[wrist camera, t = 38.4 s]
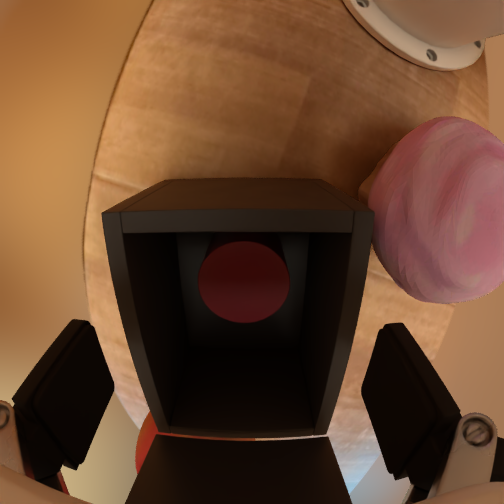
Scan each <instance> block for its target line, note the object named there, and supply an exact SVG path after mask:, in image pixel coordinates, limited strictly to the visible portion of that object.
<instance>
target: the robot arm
mask: <svg viewBox="0 0 504 504" xmlns="http://www.w3.org/2000/svg"><path fill="white" fill-rule="evenodd" d="M343 2H344V4H345V5H346V7H347V8H348V9H349V11H350V12H351V13H352V15H353V16H354V17H355V19H356V20H357V21H358V22H359V23H360V24H361V25H362V26H363V27H364V28H365V29H366V30H367V31H368V32H369V33H370V34H371V35H372V36H373V37H375V38H376V39H377V40H378V41H379V42H381V43H382V44H383V45H384V46H385V47H387V48H388V49H390V50H391V51H393V52H394V53H396V54H397V55H399V56H400V57H402V58H404V59H406V60H408V61H410V62H412V63H414V64H417V65H419V66H422V67H425V68H428V69H432V70H439V71H454V70H458V69H462V68H466V67H468V66H470V65H472V64H473V63H475V61H476V60H477V59H478V58H479V57H480V56H481V54H482V52H483V49H484V45H485V39H486V38H490V37H493V36H497V35H501V34H504V0H343ZM359 5H360V6H359ZM113 392H114V381H113V378H112V376H111V373H110V371H109V368H108V365H107V363H106V360H105V357H104V355H103V352H102V349H101V346H100V343H99V340H98V337H97V334H96V331H95V328H94V327H93V326H92V325H91V324H90V323H89V321H85V320H77V319H73V320H71V321H70V322H69V324H68V325H67V326H66V327H65V328H64V330H63V331H62V332H61V333H60V335H59V336H58V337H57V338H56V340H55V341H54V342H53V343H52V345H51V346H50V347H49V348H48V350H47V351H46V352H45V354H44V355H43V356H42V357H41V359H40V360H39V362H38V363H37V364H36V366H35V367H34V368H33V370H32V371H31V372H30V374H29V375H28V376H27V378H26V379H25V381H24V382H23V383H22V385H21V386H20V387H19V389H18V390H17V392H16V393H15V395H14V396H13V398H12V400H13V402H14V403H15V404H14V406H13V407H12V406H11V405H10V404H9V403H7V402H6V401H2V400H0V504H92V503H89V502H86V501H83V500H80V499H78V498H75V497H72V496H70V494H69V492H68V489H67V487H66V484H65V482H64V479H63V476H62V473H61V470H60V469H61V467H62V464H63V465H64V466H66V467H68V468H71V469H74V470H77V468H78V466H79V464H82V463H83V462H84V460H85V457H86V455H87V452H88V450H89V448H90V445H91V443H92V440H93V438H94V435H95V433H96V430H97V428H98V426H99V424H100V421H101V419H102V417H103V414H104V412H105V410H106V407H107V405H108V403H109V401H110V399H111V396H112V394H113ZM361 394H362V398H363V400H364V403H365V406H366V409H367V412H368V414H369V417H370V420H371V423H372V426H373V429H374V432H375V434H376V437H377V440H378V443H379V446H380V449H381V452H382V455H383V458H384V462H385V465H386V467H387V470H388V472H389V473H390V474H393V476H394V479H395V480H399V479H402V478H405V477H409V480H410V483H411V485H410V487H409V489H408V491H407V493H406V495H405V497H404V499H403V501H402V503H401V504H504V439H503V438H500V437H497V428H496V425H495V424H494V422H493V421H492V420H491V419H490V418H489V417H488V416H486V415H484V414H481V413H469V414H467V415H465V416H463V417H462V416H461V414H460V409H459V408H458V406H457V404H456V403H455V401H454V399H453V398H452V396H451V394H450V393H449V391H448V390H447V388H446V386H445V385H444V383H443V382H442V380H441V379H440V377H439V376H438V374H437V372H436V371H435V369H434V368H433V366H432V365H431V363H430V361H429V360H428V358H427V357H426V355H425V354H424V352H423V351H422V350H421V348H420V347H419V345H418V344H417V342H416V341H415V339H414V338H413V336H412V335H411V334H410V332H409V331H408V329H407V328H406V326H405V325H404V324H403V323H390V324H385V325H384V327H383V329H380V330H379V332H378V335H377V339H376V342H375V346H374V349H373V353H372V356H371V359H370V362H369V366H368V369H367V372H366V375H365V378H364V381H363V384H362V387H361Z"/></svg>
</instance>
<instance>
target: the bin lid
mask: <svg viewBox="0 0 504 504" xmlns="http://www.w3.org/2000/svg"><path fill="white" fill-rule="evenodd" d="M125 504H352V502H351V499H350V496H349V493H348V490H347V487H346V485H345V482H344V479H343V476H342V473H341V470H340V468H339V465H338V462H337V459H336V456H335V454H334V451H333V448H332V445H331V442H330V440H329V437H328V436H327V437H317V438H306V439H292V440H267V441H236V440H212V439H198V438H186V437H177V436H168V435H161V434H156V435H155V437H154V439H153V441H152V444H151V446H150V448H149V450H148V453H147V455H146V457H145V459H144V462H143V464H142V466H141V468H140V470H139V473H138V475H137V477H136V480H135V482H134V484H133V486H132V489H131V491H130V493H129V496H128V498H127V500H126V502H125Z"/></svg>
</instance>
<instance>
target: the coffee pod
mask: <svg viewBox="0 0 504 504" xmlns="http://www.w3.org/2000/svg"><path fill="white" fill-rule="evenodd" d="M198 289H199V292H200V295H201V297H202V299H203V301H204V303H205V304H206V305H207V306H208V308H209V309H210V310H211V311H213V312H214V313H215V314H217V315H218V316H220V317H222V318H224V319H226V320H229V321H232V322H238V323H251V322H257V321H260V320H263V319H265V318H267V317H269V316H271V315H272V314H274V313H275V312H276V311H277V310H278V309H279V308H280V307H281V306H282V305H283V303H284V302H285V300H286V298H287V296H288V293H289V290H290V275H289V270H288V267H287V263H286V259H285V256H284V252H283V248H282V245H281V241H280V238H279V236H278V234H277V233H276V232H215V233H214V234H213V236H212V238H211V241H210V243H209V246H208V248H207V251H206V254H205V256H204V259H203V261H202V264H201V267H200V270H199V273H198Z"/></svg>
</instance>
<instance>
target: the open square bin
mask: <svg viewBox="0 0 504 504" xmlns="http://www.w3.org/2000/svg"><path fill="white" fill-rule="evenodd" d="M374 216H375V212H374V211H373V210H371V209H370V208H368V207H366V206H365V205H363V204H362V203H360V202H358V201H357V200H355V199H354V198H352V197H350V196H349V195H347V194H345V193H344V192H342V191H340V190H339V189H337V188H335V187H334V186H332V185H330V184H329V183H327V182H325V181H323V180H321V179H296V178H204V179H177V180H164V181H162V182H159V183H157V184H155V185H153V186H151V187H149V188H147V189H145V190H143V191H142V192H140V193H138V194H136V195H134V196H132V197H130V198H128V199H126V200H124V201H122V202H121V203H119V204H117V205H115V206H113V207H111V208H110V209H108V210H106V211H104V212H102V222H103V229H104V236H105V242H106V249H107V254H108V260H109V266H110V271H111V276H112V281H113V286H114V290H115V295H116V299H117V304H118V308H119V312H120V316H121V320H122V324H123V328H124V332H125V335H126V339H127V342H128V346H129V349H130V353H131V356H132V359H133V363H134V366H135V369H136V372H137V375H138V378H139V381H140V384H141V387H142V390H143V393H144V396H145V398H146V401H147V404H148V407H149V409H150V412H151V414H152V417H153V420H154V422H155V425H156V427H157V430H158V432H162V433H169V434H171V433H172V434H180V435H190V436H202V437H219V438H285V437H301V436H312V435H313V436H316V435H325V434H326V433H327V430H328V427H329V424H330V421H331V418H332V415H333V412H334V409H335V406H336V402H337V399H338V396H339V392H340V389H341V385H342V382H343V378H344V375H345V371H346V367H347V363H348V360H349V356H350V352H351V348H352V343H353V339H354V335H355V330H356V326H357V321H358V317H359V312H360V307H361V302H362V297H363V291H364V286H365V280H366V274H367V268H368V262H369V255H370V248H371V241H372V233H373V225H374ZM215 232H276V233H277V234H278V236H279V238H280V241H281V245H282V248H283V252H284V256H285V259H286V263H287V267H288V270H289V275H290V290H289V293H288V296H287V298H286V300H285V302H284V303H283V305H282V306H281V307H280V308H279V309H278V310H277V311H276V312H275V313H274V314H272V315H271V316H269V317H267V318H265V319H263V320H260V321H257V322H251V323H238V322H232V321H229V320H226V319H224V318H222V317H220V316H218V315H217V314H215V313H214V312H213V311H211V310H210V309H209V308H208V306H207V305H206V304H205V303H204V301H203V299H202V297H201V295H200V292H199V289H198V273H199V270H200V267H201V264H202V261H203V259H204V256H205V254H206V251H207V248H208V246H209V243H210V241H211V238H212V236H213V234H214V233H215Z"/></svg>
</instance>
